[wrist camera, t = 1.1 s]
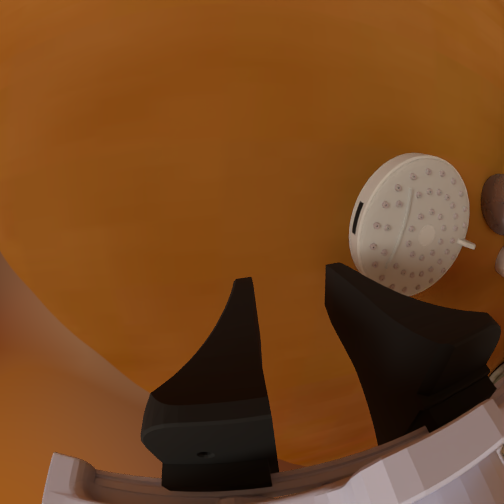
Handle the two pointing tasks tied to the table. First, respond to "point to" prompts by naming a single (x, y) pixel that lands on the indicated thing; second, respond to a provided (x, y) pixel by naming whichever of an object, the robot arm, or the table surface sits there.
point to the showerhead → (410, 223)
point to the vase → (496, 376)
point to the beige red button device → (494, 203)
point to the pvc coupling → (500, 262)
